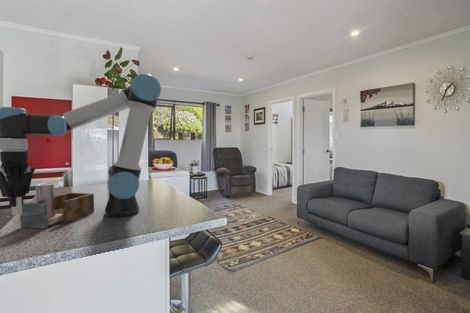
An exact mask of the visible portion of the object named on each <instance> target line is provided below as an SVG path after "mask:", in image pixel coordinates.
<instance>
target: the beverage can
mask: <svg viewBox="0 0 470 313" xmlns="http://www.w3.org/2000/svg"><path fill="white" fill-rule="evenodd" d="M35 186H36V187H35V196H36V199H35V200H36V202H35V203H47V219H50V218H53V217H55V196H56V195H55V194H56V192H55V184H54V182H45V183H43V182H42V183H37V184H36V185H35Z"/></svg>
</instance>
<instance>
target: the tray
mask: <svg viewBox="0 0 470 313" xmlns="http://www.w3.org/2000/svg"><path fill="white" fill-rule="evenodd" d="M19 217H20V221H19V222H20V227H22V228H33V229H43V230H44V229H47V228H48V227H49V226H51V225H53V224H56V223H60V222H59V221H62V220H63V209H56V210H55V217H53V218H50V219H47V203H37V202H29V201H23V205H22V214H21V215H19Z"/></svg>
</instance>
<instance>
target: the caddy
mask: <svg viewBox="0 0 470 313" xmlns="http://www.w3.org/2000/svg"><path fill="white" fill-rule="evenodd" d="M94 195H95V193H86V192H66V193H62V194H59V195H58V194H57V195H55V210H56V209H63V220H62V221H59V222H58V223H68V222H71V221H73V220H74V221H75V220H77V219H79V218H81V217H84V216H87V215H90V214H92V213H94V212H95V196H94Z"/></svg>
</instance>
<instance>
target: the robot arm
mask: <svg viewBox="0 0 470 313" xmlns="http://www.w3.org/2000/svg"><path fill="white" fill-rule="evenodd" d="M161 92H162V88H161V83H160V81H159V80H158V79H157V78H156V77H155V76H154V75H152V74H149V73H139V74H137V75H136V76H134V78H133V79H132V81H131V85H130V86H128V87H126V88H124V89H121V90H120V92H119V93H116V94H113V95H110V96H109V97H106V98H103V99H100V100H97V101H95V102H92V103H89V104H85V105H82V106H80V107H77V108H75V109H72V110H69V111H66V112H64V113H61V114H58V115H56V114H50V115H49V114H31V113H27V110H26V108H22V107H14V106H13V107H12V106H2V107H0V150H2V151H0V162H1V165H0V193H1V196H2V197H3V198H8V200H9V203H8V204H9V207H11V215H12V216H20V215H21V214H22V205H23V202H24V197H26V195H27V194H29V193H30V189H31V183H32V179H33V174H34V172H35V170H36V168H35V167H31V166H29V164H28V161H29V152H28V151H27V150H28V149H29V142H28V135H33V136H34V135H39V136H42V135H43V136H53V137H60V136H64V135H66V134H67V133H68V132H70V131H72V130H74V129H77V128H80V127H83V126H86V125H88V124H91V123H93V122H96V121H99V120H101V119H103V118H106V117H109V116H111V115H114V114H116V113H119V112H121V111H125V110H126V109H129V110H128V115H127V119H126V124H125V128H124V133H123V136H122V141H121V144H120V149H119V154H118V157H117V161H116V162H114V163H112V165H111V166H109V167H108V170H107V174H108V175H107V176H108V183H107V190H108V200H107V203H106V205H105V209H104V215H105V216H107V217H109V218H120V217H121V218H122V217H128V216H134V215H136V214H138V213H139V212H140V206H139V203H138V200H137V197H136V194H137V192H138V190H139V189H140V176H141V172H142V168H141V166H140V162H141V161H140V160H141V156H142V152H143V148H144V143H145V139H146V134H147V129H148V126H149V121H150V117H151V113H153V112H155V110H156V106H157V103H158V100H159V97H160V95H161Z"/></svg>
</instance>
